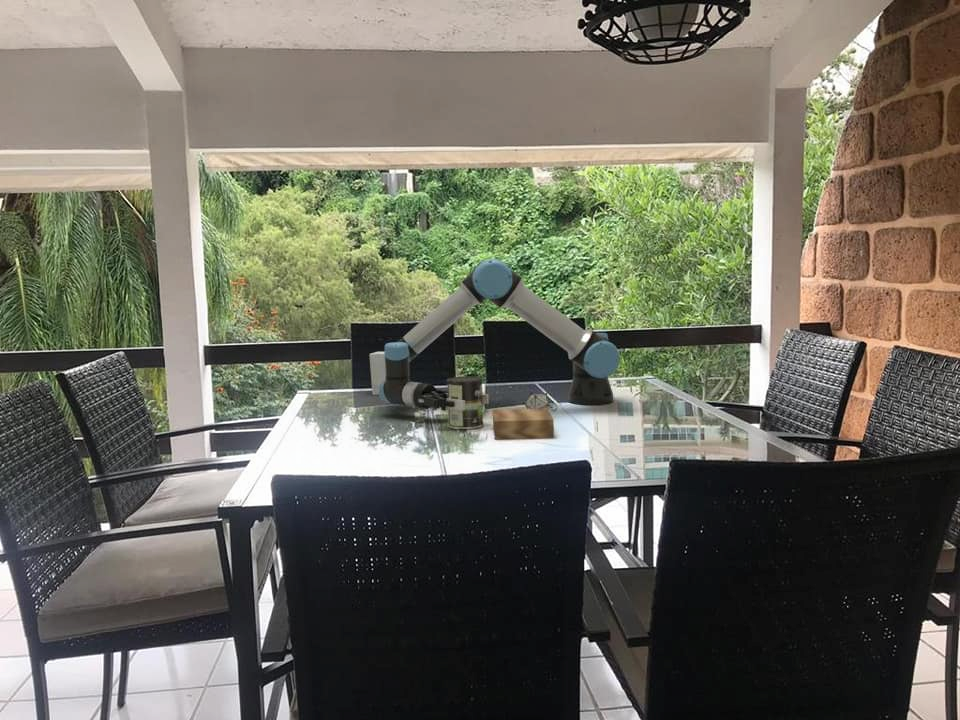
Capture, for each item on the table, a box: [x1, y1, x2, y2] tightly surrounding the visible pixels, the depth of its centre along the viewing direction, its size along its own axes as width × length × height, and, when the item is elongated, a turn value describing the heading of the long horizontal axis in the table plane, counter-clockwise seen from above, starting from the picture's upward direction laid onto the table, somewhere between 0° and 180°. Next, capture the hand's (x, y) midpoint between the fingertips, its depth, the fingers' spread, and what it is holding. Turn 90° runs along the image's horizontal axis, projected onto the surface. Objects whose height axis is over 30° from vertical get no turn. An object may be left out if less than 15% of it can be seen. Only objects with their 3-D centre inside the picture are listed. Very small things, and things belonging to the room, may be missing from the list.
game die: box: [522, 391, 554, 411], centre depth 237 cm, size 9×8×10 cm
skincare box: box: [369, 351, 386, 396], centre depth 287 cm, size 8×7×16 cm
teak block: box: [492, 408, 555, 440], centre depth 219 cm, size 16×16×5 cm
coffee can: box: [446, 375, 484, 430], centre depth 229 cm, size 10×10×14 cm
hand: (476, 402), depth 226 cm, fingers closed on coffee can, 10 cm apart
